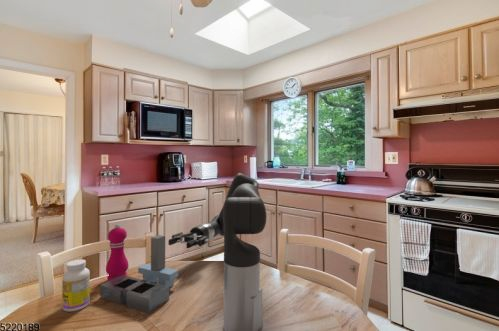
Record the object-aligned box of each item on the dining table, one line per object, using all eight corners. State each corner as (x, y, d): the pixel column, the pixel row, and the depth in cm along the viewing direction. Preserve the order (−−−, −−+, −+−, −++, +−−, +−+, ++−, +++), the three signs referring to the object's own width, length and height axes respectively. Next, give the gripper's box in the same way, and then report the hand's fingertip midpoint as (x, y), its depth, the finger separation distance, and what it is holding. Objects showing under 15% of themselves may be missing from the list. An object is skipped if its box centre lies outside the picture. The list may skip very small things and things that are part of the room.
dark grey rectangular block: (169, 299, 79) (169, 286, 79) (149, 313, 72) (149, 299, 72) (122, 286, 87) (122, 274, 87) (100, 297, 80) (100, 284, 80)
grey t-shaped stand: (178, 286, 88) (178, 237, 88) (170, 291, 84) (170, 241, 84) (147, 278, 94) (147, 232, 93) (138, 283, 90) (138, 235, 90)
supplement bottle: (61, 305, 76) (61, 261, 76) (87, 297, 80) (87, 256, 80) (63, 315, 71) (63, 268, 71) (91, 307, 75) (91, 262, 75)
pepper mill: (119, 285, 88) (119, 226, 88) (100, 283, 90) (100, 225, 90) (132, 276, 95) (132, 221, 95) (115, 274, 97) (115, 220, 97)
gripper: (188, 223, 116) (163, 232, 101) (216, 226, 110) (193, 236, 95) (188, 240, 116) (163, 251, 101) (216, 244, 110) (193, 256, 95)
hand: (178, 244), depth 98 cm, fingers open, 8 cm apart
